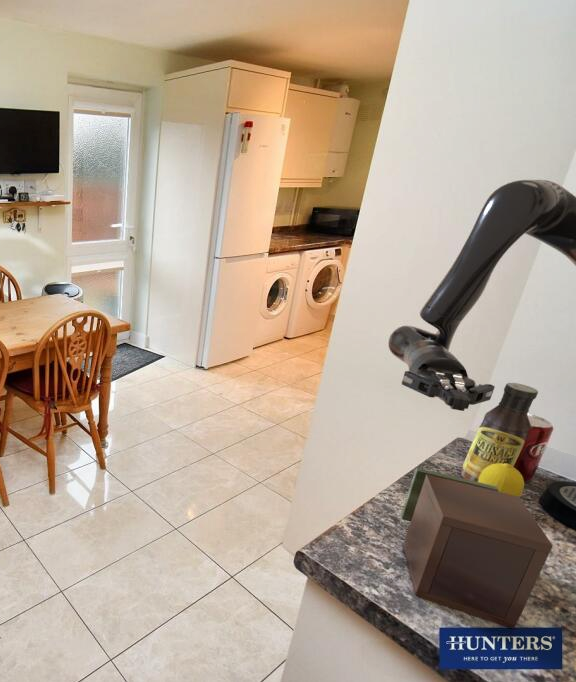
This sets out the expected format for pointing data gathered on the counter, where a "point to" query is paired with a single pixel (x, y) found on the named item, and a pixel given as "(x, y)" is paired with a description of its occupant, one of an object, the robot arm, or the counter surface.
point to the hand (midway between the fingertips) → (460, 404)
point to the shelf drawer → (417, 487)
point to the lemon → (503, 478)
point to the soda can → (533, 447)
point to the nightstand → (474, 550)
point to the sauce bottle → (501, 432)
